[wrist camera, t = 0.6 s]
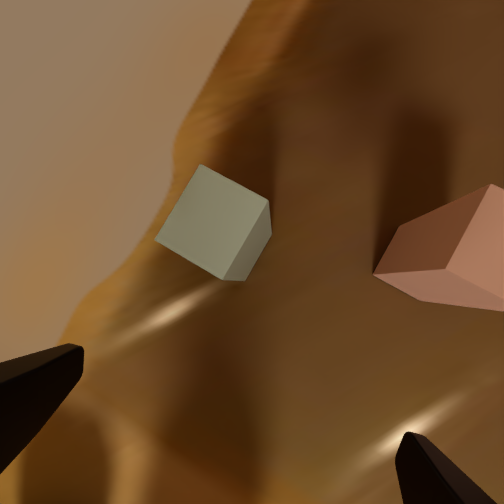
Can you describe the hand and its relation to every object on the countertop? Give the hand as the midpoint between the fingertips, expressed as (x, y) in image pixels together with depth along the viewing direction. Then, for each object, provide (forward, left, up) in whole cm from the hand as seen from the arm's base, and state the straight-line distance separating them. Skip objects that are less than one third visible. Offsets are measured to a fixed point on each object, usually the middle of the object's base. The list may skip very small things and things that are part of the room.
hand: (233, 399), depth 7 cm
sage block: (+6, +2, -15) cm, 16 cm away
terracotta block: (+4, -12, -15) cm, 19 cm away
